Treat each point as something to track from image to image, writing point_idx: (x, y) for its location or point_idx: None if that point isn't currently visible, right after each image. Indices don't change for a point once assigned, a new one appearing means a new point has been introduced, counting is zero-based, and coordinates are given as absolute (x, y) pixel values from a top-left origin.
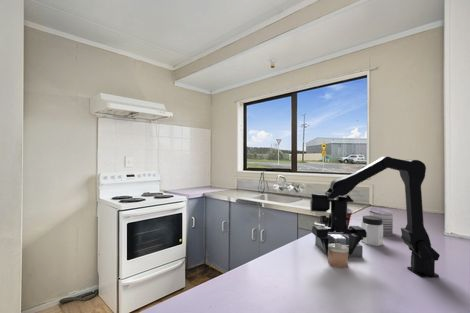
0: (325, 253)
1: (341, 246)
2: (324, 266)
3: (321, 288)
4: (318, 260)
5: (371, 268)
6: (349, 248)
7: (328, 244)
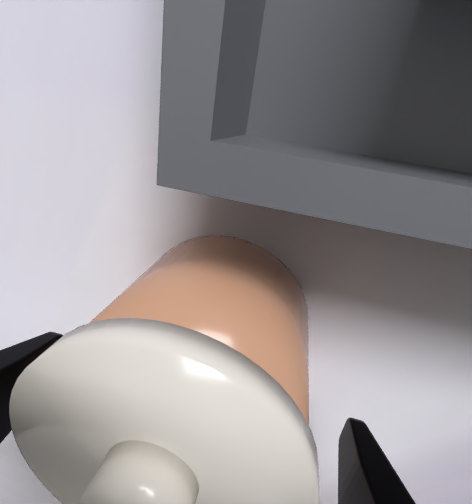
0: (50, 339)
1: (219, 484)
2: (92, 319)
3: (11, 462)
4: (80, 216)
5: (458, 450)
6: (361, 498)
7: (191, 109)
